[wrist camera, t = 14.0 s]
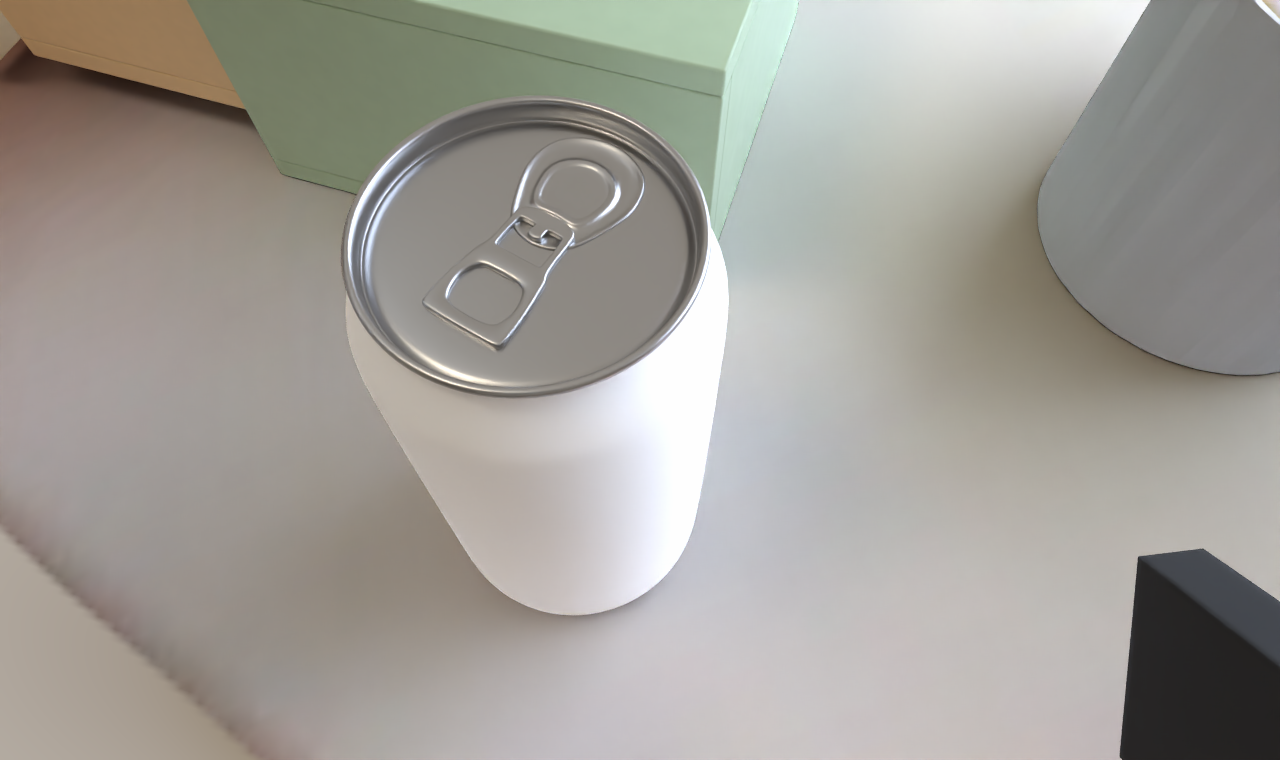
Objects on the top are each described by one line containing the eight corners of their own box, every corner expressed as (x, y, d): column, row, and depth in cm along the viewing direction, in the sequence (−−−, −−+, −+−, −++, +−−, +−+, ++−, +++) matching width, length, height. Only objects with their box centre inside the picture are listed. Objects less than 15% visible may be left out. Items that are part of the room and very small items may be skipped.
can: (740, 466, 24) (815, 178, 14) (613, 671, 22) (583, 511, 11) (549, 357, 26) (485, 23, 15) (410, 535, 24) (217, 285, 13)
